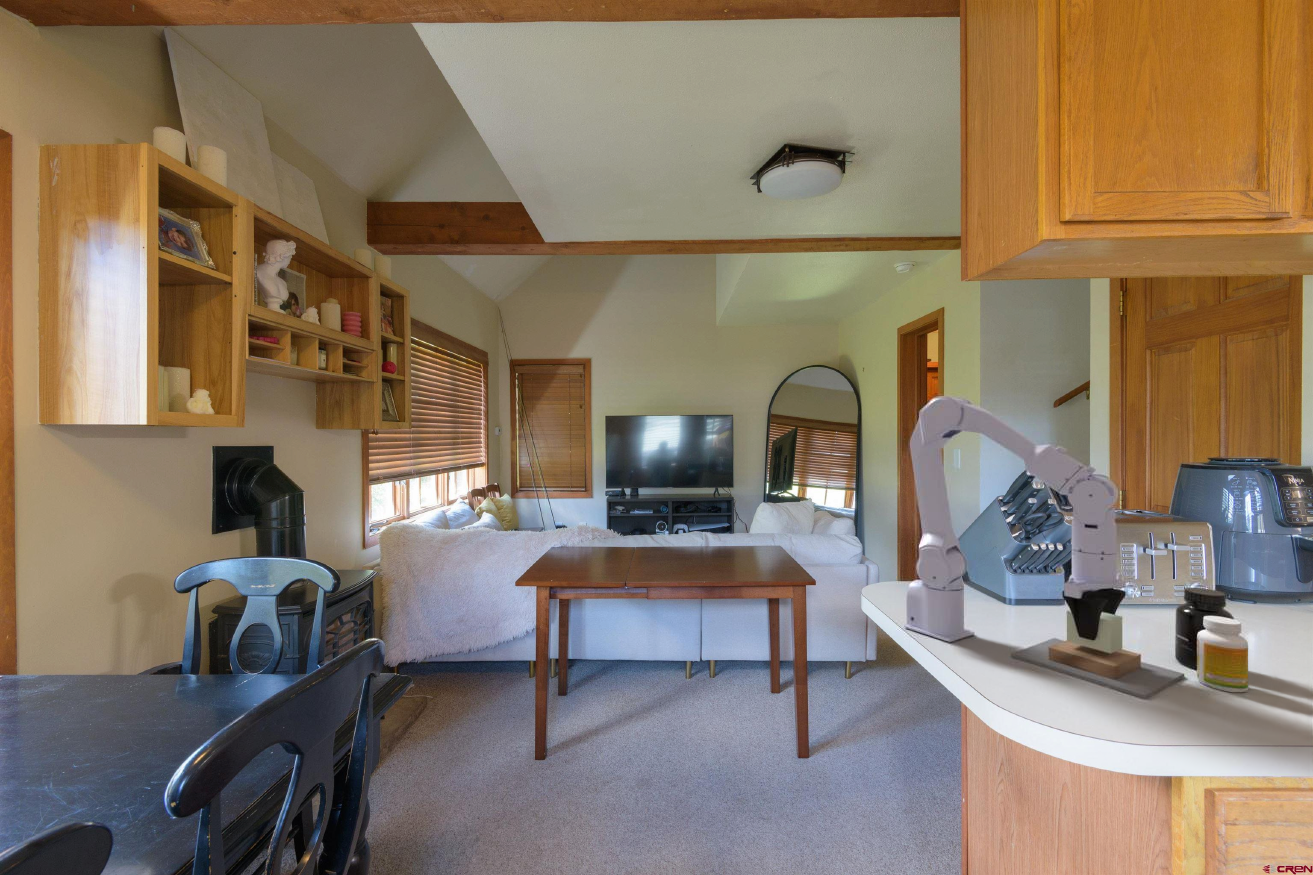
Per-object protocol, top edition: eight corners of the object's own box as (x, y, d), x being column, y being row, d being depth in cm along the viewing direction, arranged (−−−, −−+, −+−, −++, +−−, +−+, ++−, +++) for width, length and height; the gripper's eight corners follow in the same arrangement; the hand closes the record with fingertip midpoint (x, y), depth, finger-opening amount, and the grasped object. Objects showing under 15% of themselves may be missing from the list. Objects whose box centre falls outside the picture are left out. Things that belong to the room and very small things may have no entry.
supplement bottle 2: (1258, 695, 82) (1259, 626, 82) (1214, 691, 83) (1214, 624, 83) (1229, 679, 87) (1229, 614, 87) (1188, 676, 88) (1187, 612, 88)
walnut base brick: (1048, 659, 94) (1048, 647, 93) (1075, 648, 98) (1075, 636, 98) (1114, 679, 86) (1114, 666, 86) (1140, 666, 90) (1140, 654, 90)
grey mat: (1011, 656, 96) (1011, 653, 96) (1054, 640, 103) (1054, 637, 103) (1144, 699, 81) (1144, 695, 81) (1184, 676, 88) (1184, 673, 88)
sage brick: (1066, 641, 93) (1066, 610, 93) (1078, 636, 95) (1078, 606, 95) (1110, 653, 88) (1110, 620, 88) (1122, 648, 90) (1122, 616, 90)
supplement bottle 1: (1165, 661, 94) (1165, 588, 94) (1188, 654, 96) (1189, 583, 96) (1220, 677, 87) (1220, 599, 87) (1243, 670, 90) (1243, 593, 90)
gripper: (1101, 560, 85) (1102, 652, 85) (1144, 550, 92) (1144, 634, 92) (1049, 552, 91) (1049, 638, 91) (1093, 543, 98) (1093, 622, 98)
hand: (1093, 635), depth 92 cm, fingers closed on sage brick, 4 cm apart
